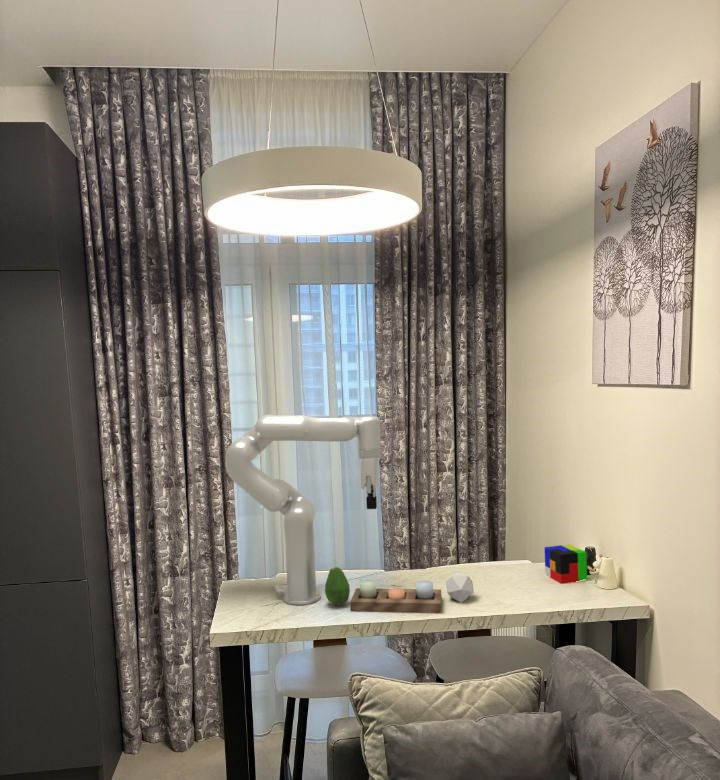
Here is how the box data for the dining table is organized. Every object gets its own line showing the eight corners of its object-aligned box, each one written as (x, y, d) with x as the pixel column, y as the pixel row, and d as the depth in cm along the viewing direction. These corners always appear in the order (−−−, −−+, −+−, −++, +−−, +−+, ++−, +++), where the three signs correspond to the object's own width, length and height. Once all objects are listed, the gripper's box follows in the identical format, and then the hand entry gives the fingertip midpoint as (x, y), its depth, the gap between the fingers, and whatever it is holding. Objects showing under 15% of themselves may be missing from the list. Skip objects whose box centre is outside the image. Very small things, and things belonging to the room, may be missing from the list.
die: (480, 603, 188) (477, 572, 194) (464, 596, 183) (462, 564, 189) (457, 608, 193) (455, 577, 199) (441, 601, 188) (439, 570, 194)
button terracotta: (387, 606, 186) (387, 593, 186) (389, 600, 191) (389, 587, 191) (404, 606, 185) (403, 593, 185) (405, 600, 190) (405, 588, 190)
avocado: (334, 598, 195) (333, 562, 195) (354, 602, 191) (353, 565, 191) (320, 607, 189) (319, 569, 188) (340, 611, 184) (339, 573, 184)
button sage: (359, 597, 187) (358, 585, 187) (361, 592, 192) (361, 579, 192) (375, 598, 186) (375, 585, 186) (377, 592, 192) (377, 580, 191)
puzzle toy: (545, 575, 211) (544, 547, 211) (570, 571, 213) (569, 544, 213) (561, 584, 201) (560, 555, 201) (587, 580, 204) (586, 551, 203)
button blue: (416, 598, 184) (415, 586, 184) (417, 592, 190) (416, 580, 190) (433, 599, 184) (432, 586, 184) (433, 593, 189) (433, 580, 189)
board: (350, 611, 184) (350, 601, 184) (356, 597, 196) (356, 588, 196) (441, 613, 180) (440, 603, 180) (441, 598, 192) (441, 589, 192)
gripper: (361, 451, 204) (363, 503, 205) (355, 456, 190) (357, 513, 190) (383, 450, 203) (385, 503, 204) (378, 456, 188) (380, 513, 189)
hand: (371, 508), depth 197 cm, fingers closed
